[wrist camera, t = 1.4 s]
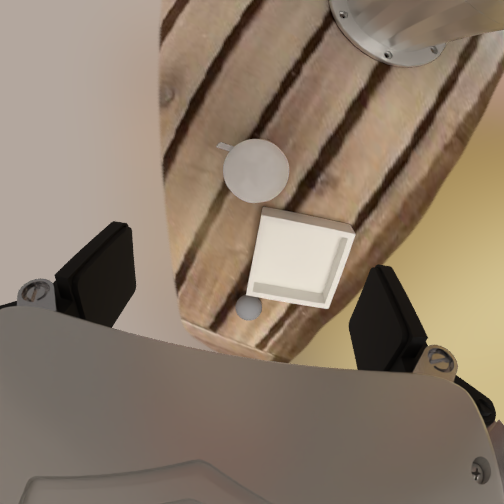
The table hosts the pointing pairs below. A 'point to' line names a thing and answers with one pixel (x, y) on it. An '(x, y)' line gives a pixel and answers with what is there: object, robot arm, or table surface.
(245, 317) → the ball
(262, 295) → the tray
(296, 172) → the table surface
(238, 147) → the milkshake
